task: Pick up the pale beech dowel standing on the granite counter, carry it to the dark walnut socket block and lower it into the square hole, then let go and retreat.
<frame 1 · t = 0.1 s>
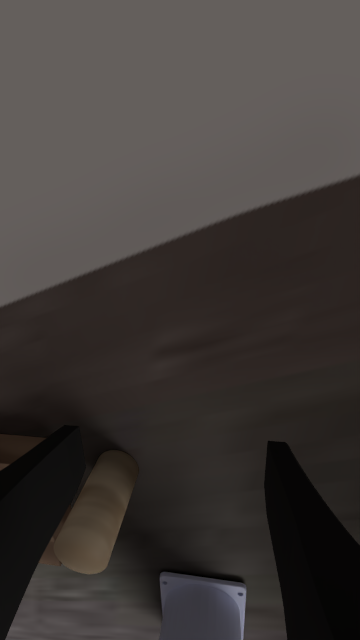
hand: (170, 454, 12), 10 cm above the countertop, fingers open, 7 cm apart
beech peg: (117, 467, 26), on the countertop
walnut socket block: (11, 482, 28), on the countertop
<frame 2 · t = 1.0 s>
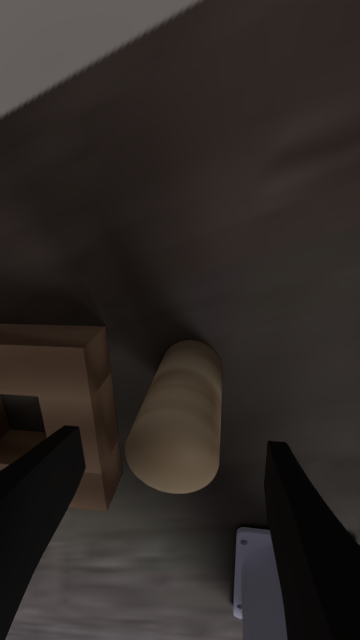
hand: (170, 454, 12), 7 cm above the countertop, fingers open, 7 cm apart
beech peg: (191, 368, 18), on the countertop
walnut socket block: (36, 401, 21), on the countertop
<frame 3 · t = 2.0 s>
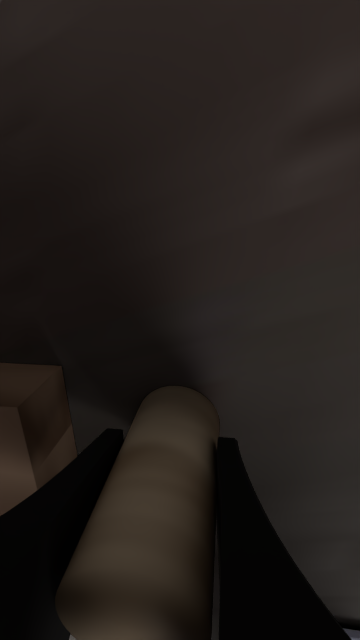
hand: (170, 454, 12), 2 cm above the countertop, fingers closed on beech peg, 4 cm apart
beech peg: (178, 421, 13), on the countertop, touching gripper
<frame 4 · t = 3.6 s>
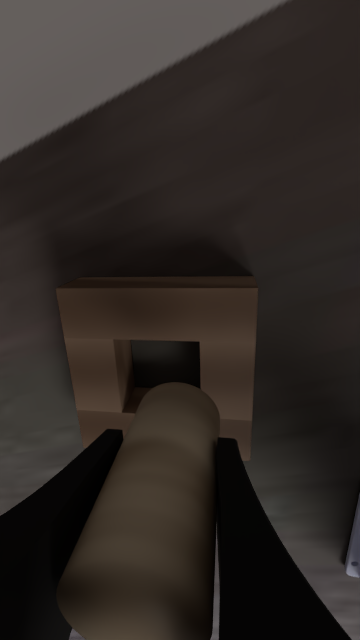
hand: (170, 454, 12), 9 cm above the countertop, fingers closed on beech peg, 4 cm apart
beech peg: (178, 418, 13), point 7 cm above the countertop, touching gripper
walnut socket block: (167, 356, 21), on the countertop
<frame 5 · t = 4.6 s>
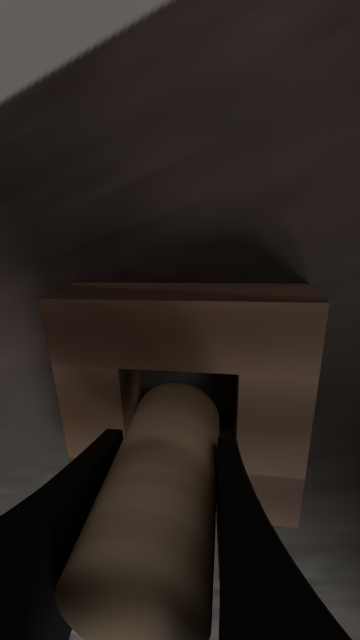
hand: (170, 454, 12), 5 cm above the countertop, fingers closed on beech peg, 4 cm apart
beech peg: (177, 418, 13), point 3 cm above the countertop, touching gripper
walnut socket block: (187, 385, 16), on the countertop
when the fingers open (4 cm above the countertop, at t = 5.2 s): beech peg drops 2 cm, resting in walnut socket block.
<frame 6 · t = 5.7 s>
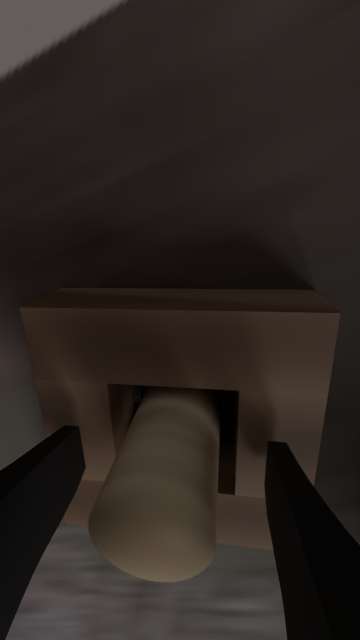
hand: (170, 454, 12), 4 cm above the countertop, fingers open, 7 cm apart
beech peg: (183, 395, 15), resting in walnut socket block
walnut socket block: (183, 398, 15), on the countertop
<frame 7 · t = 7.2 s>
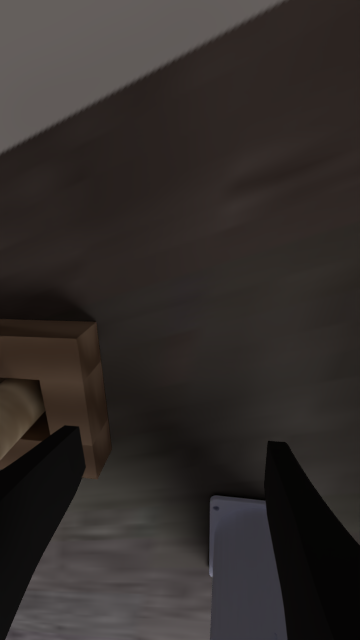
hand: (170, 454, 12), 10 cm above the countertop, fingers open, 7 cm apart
beech peg: (37, 384, 24), resting in walnut socket block
walnut socket block: (37, 386, 24), on the countertop
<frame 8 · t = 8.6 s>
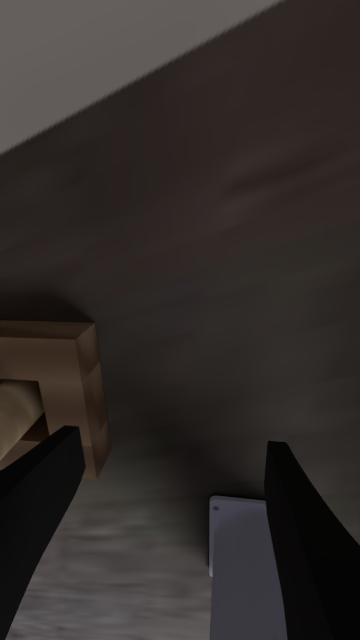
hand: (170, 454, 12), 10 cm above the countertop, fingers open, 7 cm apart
beech peg: (36, 385, 24), resting in walnut socket block
walnut socket block: (36, 387, 24), on the countertop
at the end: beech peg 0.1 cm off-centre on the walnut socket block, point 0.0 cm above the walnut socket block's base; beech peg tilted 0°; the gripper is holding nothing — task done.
